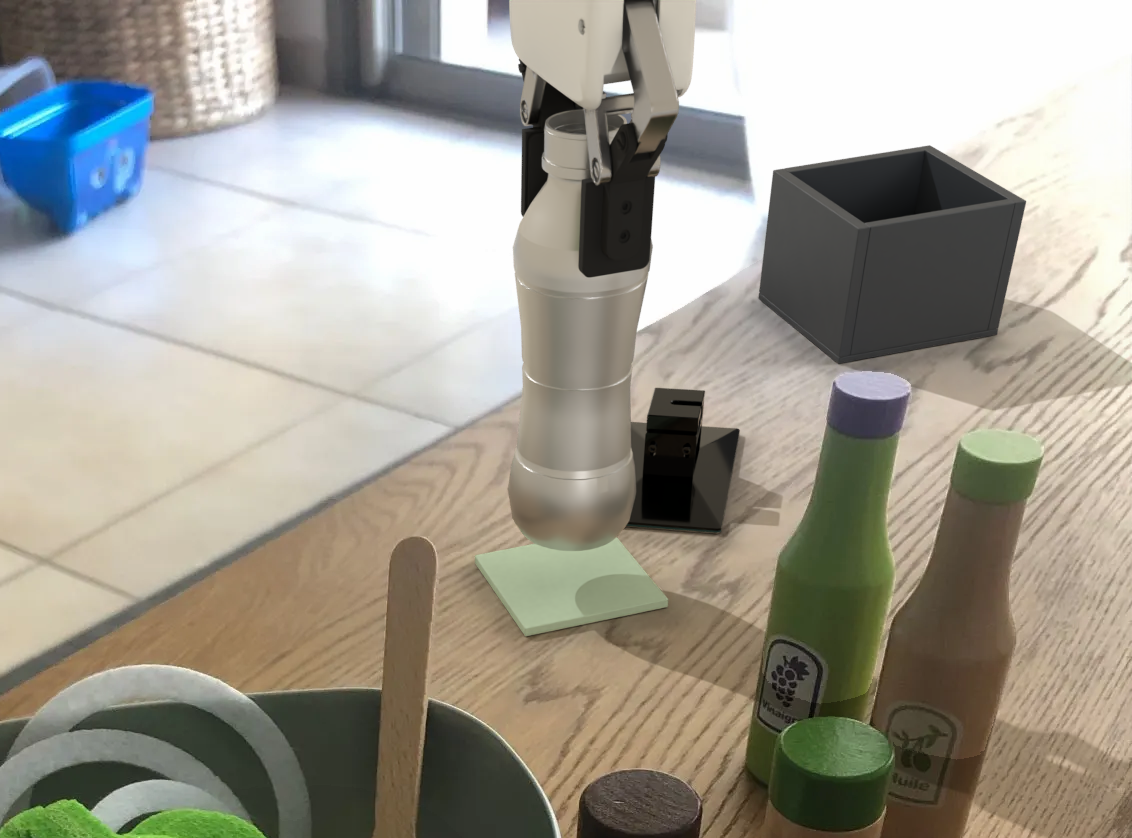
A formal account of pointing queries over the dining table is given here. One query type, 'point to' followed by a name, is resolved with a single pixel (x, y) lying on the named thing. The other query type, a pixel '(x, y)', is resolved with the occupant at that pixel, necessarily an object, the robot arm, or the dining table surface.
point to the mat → (568, 585)
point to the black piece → (681, 465)
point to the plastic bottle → (572, 363)
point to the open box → (888, 252)
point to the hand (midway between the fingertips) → (582, 239)
